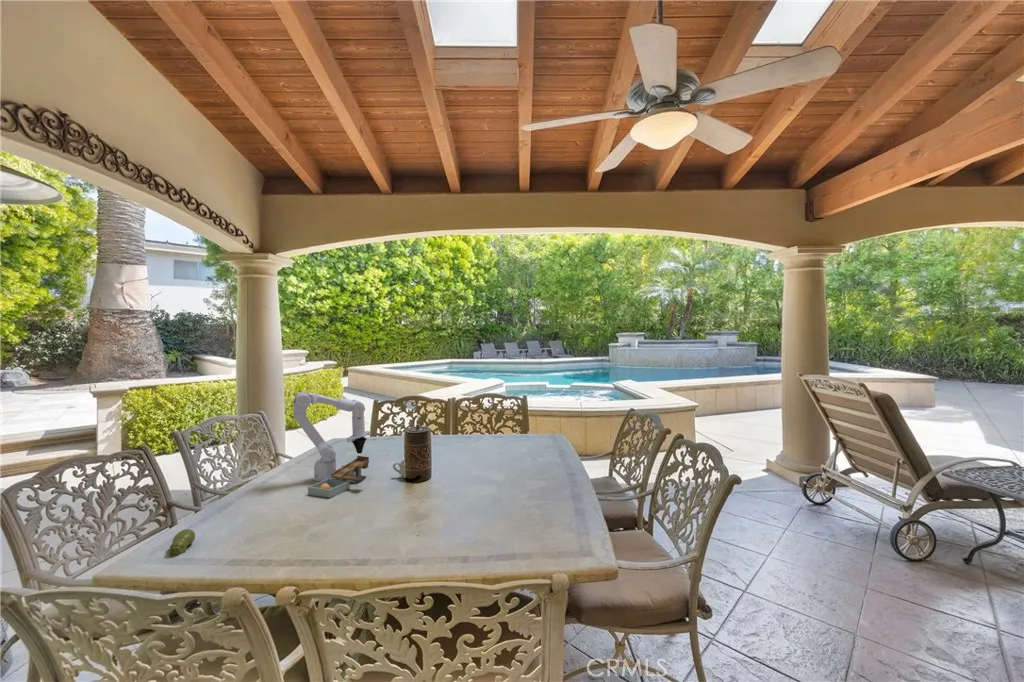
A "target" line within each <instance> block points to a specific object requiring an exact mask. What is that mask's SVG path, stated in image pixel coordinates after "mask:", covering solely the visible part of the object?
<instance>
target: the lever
mask: <svg viewBox="0 0 1024 682" xmlns="http://www.w3.org/2000/svg"><path fill="white" fill-rule="evenodd" d="M369 459H370V458H369V456H366V455H365V456H363V455H357V456H356V458H355V459H353V460H352V461H350V462H348V463H347V464H344V465H345V466H344V465H342V466H343V467H341V466H340V468H338V469H336V471H335V472H333V473H331V474H332V478H337V479H338V480H342V479H347V480H353V481H356V482H361V481H363V482H364V481H365V479H367V476H366V475H362V474H361V475H358V476H357V477H356V475H355V476H353V475H352V474H354V473H356V468H358V467H361V470H365V469H367V468H369V463H370V460H369ZM361 483H362V482H361Z"/></svg>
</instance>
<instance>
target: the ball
mask: <svg viewBox="0 0 1024 682" xmlns="http://www.w3.org/2000/svg"><path fill="white" fill-rule="evenodd" d="M320 488H323V489H330V486H329V485H328V484H326V483H325V484H322V485H321V487H320Z"/></svg>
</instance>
